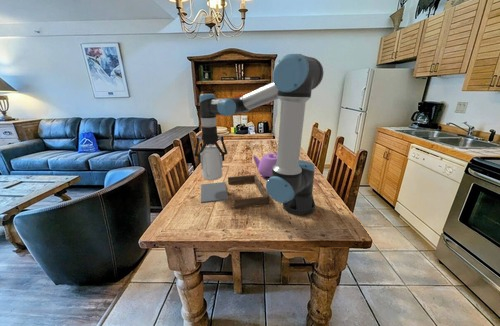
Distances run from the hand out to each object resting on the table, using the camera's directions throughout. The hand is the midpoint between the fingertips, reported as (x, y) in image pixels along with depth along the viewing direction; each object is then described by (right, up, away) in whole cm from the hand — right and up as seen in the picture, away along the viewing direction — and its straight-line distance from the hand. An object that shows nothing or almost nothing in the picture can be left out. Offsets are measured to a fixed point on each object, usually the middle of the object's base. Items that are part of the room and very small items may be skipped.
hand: (212, 167), depth 117 cm
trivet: (0, -14, +5) cm, 14 cm away
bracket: (+18, -14, +3) cm, 23 cm away
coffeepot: (0, -6, +2) cm, 6 cm away
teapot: (+33, -5, +29) cm, 44 cm away
